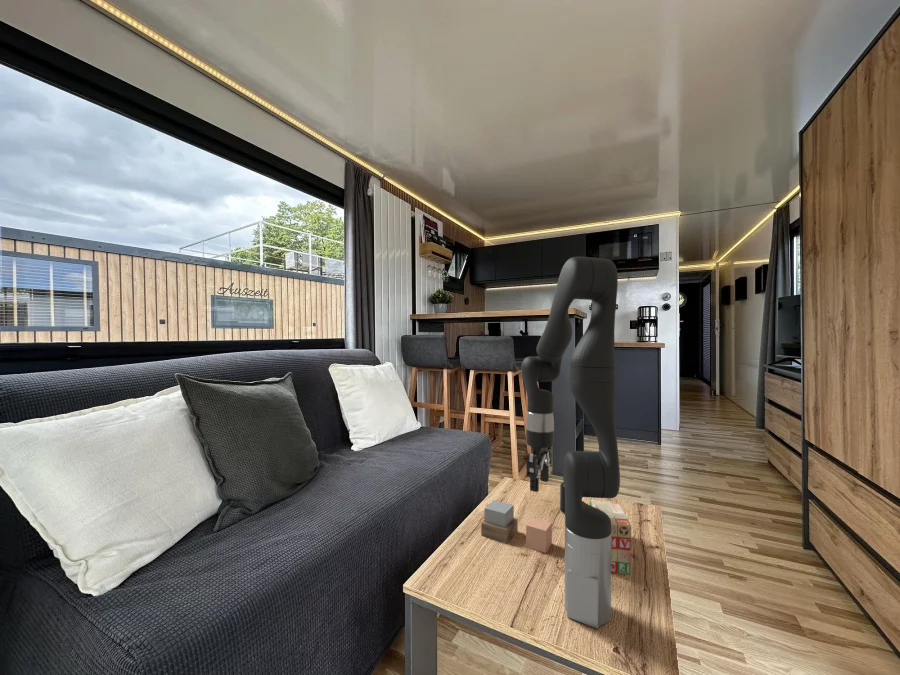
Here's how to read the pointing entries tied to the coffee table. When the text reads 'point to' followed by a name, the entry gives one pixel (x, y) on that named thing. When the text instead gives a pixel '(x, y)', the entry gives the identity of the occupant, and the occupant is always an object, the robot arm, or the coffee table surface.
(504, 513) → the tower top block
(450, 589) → the coffee table surface
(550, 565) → the coffee table surface
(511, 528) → the tower base block
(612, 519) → the stack of blocks
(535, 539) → the terracotta block
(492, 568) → the coffee table surface
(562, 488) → the supplement bottle
